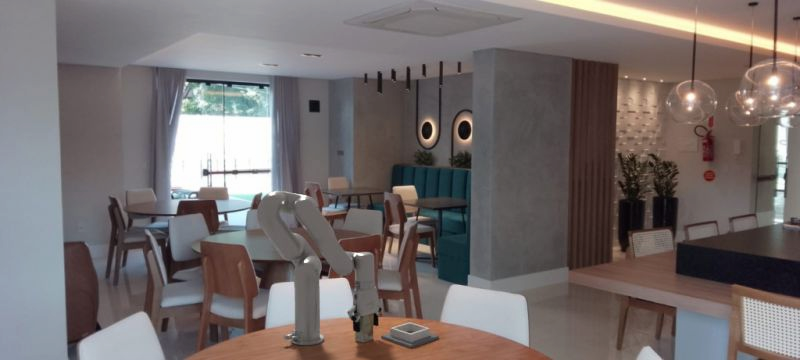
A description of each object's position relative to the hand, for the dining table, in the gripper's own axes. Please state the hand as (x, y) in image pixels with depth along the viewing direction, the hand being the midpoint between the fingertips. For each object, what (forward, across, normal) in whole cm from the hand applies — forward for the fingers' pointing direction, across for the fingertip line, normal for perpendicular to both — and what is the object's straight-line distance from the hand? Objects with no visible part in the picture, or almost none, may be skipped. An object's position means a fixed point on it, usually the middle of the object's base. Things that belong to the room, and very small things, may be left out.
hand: (366, 328), depth 223 cm
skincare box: (+5, 0, 0) cm, 5 cm away
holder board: (+5, +14, -10) cm, 18 cm away
